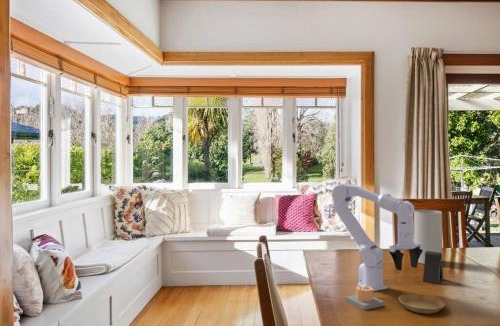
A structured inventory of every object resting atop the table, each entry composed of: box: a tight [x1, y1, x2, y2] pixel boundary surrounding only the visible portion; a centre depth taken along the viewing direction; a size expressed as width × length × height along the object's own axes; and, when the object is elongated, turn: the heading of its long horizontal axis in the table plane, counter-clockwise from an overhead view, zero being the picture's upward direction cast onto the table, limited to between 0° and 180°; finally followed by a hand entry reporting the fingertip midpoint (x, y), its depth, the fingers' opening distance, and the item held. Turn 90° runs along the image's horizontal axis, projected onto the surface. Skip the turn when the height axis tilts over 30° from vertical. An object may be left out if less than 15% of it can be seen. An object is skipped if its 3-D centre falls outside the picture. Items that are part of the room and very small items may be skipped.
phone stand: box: [422, 251, 445, 285], centre depth 170 cm, size 9×6×12 cm, turn 141°
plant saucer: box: [398, 293, 446, 315], centre depth 140 cm, size 15×15×3 cm
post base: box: [345, 285, 385, 311], centre depth 145 cm, size 10×9×6 cm
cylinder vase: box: [413, 209, 443, 265], centre depth 200 cm, size 12×12×25 cm
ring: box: [355, 285, 374, 302], centre depth 145 cm, size 6×6×4 cm
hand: (406, 268), depth 155 cm, fingers open, 7 cm apart
